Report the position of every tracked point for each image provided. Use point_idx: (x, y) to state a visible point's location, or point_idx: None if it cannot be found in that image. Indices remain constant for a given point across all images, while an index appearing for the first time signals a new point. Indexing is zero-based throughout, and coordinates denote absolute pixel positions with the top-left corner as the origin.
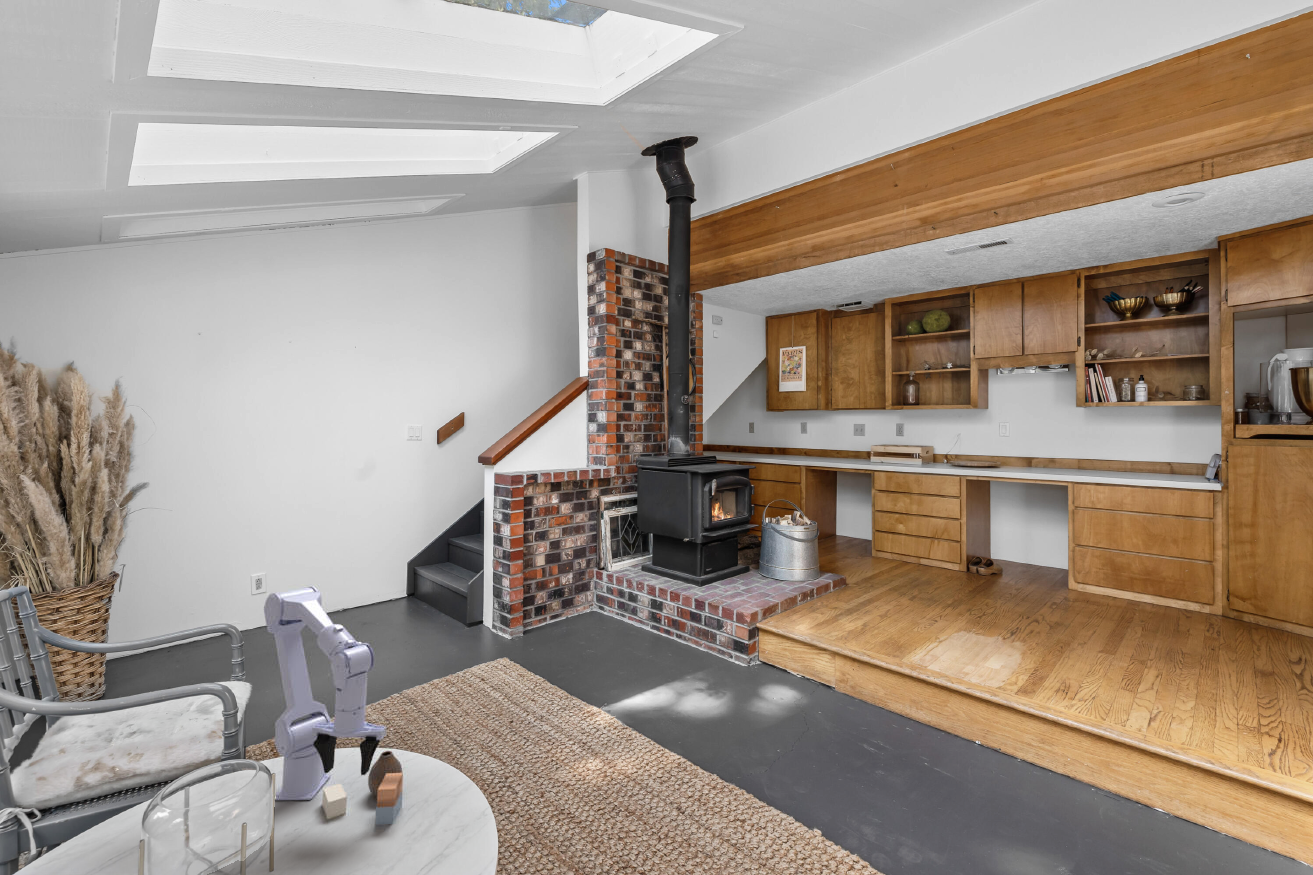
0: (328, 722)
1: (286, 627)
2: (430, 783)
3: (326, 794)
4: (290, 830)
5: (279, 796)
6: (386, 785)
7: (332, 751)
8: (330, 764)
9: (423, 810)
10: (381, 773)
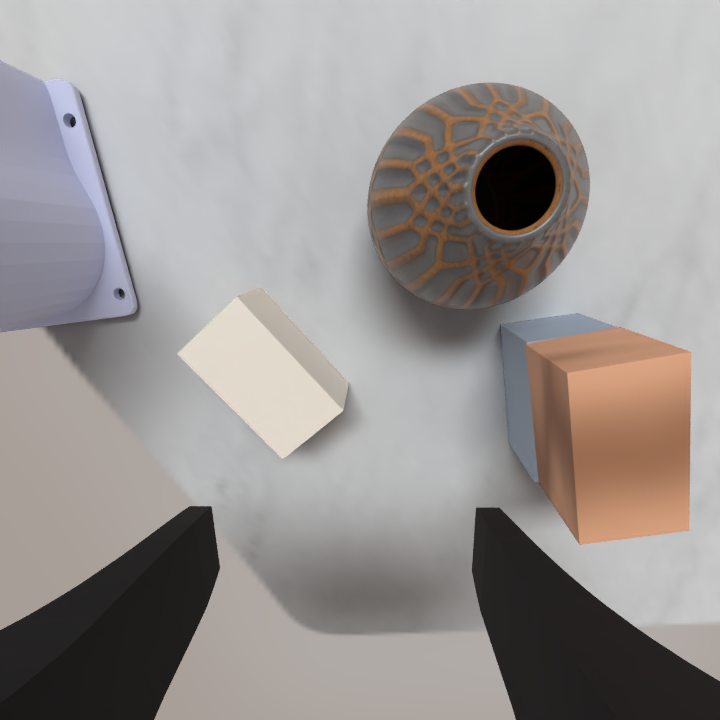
0: None
1: None
2: (676, 85)
3: (230, 400)
4: (206, 494)
5: None
6: (619, 502)
7: (131, 629)
8: (197, 574)
9: (692, 335)
10: (493, 301)
